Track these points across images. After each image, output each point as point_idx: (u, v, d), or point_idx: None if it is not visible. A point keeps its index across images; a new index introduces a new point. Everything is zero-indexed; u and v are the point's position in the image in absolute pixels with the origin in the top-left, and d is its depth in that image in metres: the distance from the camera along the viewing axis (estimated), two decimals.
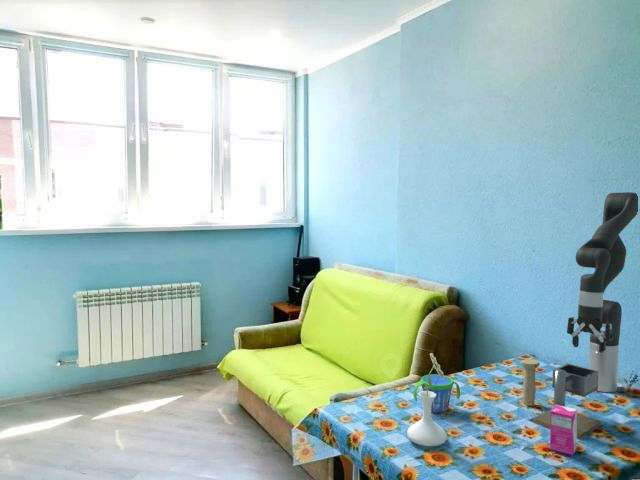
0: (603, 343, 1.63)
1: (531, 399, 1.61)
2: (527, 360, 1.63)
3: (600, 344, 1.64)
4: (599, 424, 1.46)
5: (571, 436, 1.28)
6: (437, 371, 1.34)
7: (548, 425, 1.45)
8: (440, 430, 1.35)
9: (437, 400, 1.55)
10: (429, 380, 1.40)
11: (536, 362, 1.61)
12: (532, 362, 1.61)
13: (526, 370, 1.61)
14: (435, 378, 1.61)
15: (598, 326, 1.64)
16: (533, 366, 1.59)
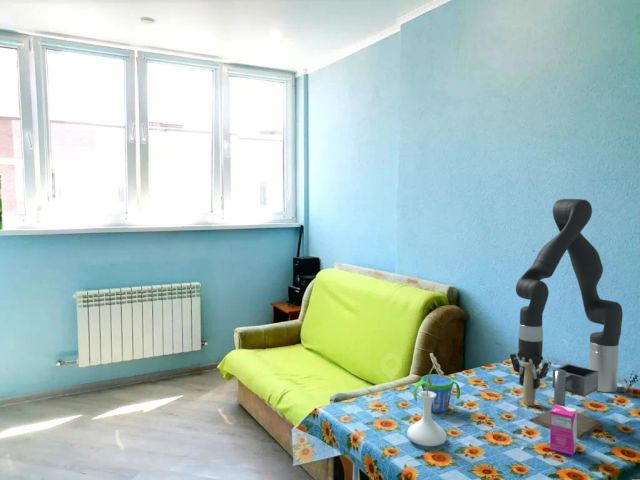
0: (537, 380, 1.59)
1: (531, 399, 1.61)
2: None
3: (534, 381, 1.60)
4: (599, 424, 1.46)
5: (571, 436, 1.28)
6: (437, 371, 1.34)
7: (548, 425, 1.45)
8: (440, 430, 1.35)
9: (437, 400, 1.55)
10: (429, 380, 1.40)
11: None
12: None
13: (526, 370, 1.61)
14: (435, 378, 1.61)
15: (537, 361, 1.58)
16: None
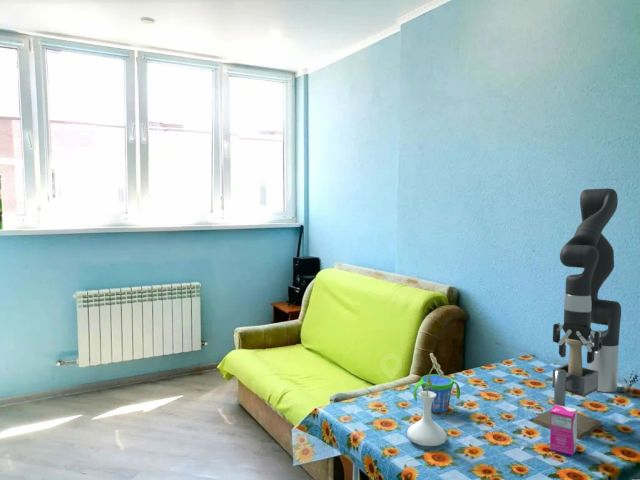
0: (591, 353, 1.45)
1: None
2: None
3: (588, 354, 1.45)
4: (599, 424, 1.46)
5: (571, 436, 1.28)
6: (437, 371, 1.34)
7: (548, 425, 1.45)
8: (440, 430, 1.35)
9: (437, 400, 1.55)
10: (429, 380, 1.40)
11: None
12: None
13: (572, 348, 1.49)
14: (435, 378, 1.61)
15: (586, 333, 1.46)
16: (580, 343, 1.47)
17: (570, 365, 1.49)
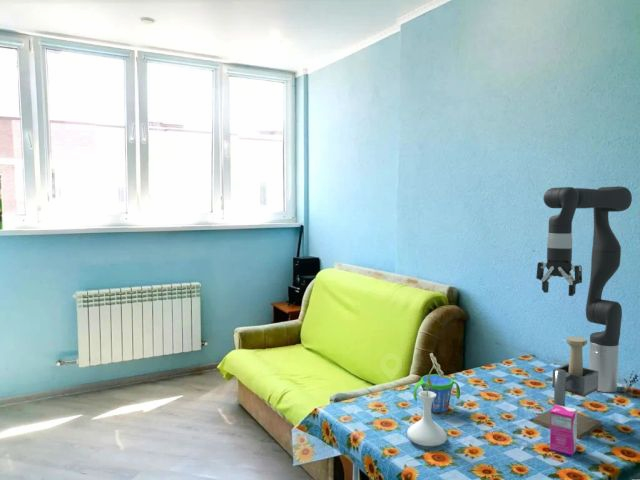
0: (572, 286, 1.56)
1: None
2: (573, 338, 1.50)
3: (569, 287, 1.57)
4: (599, 424, 1.46)
5: (571, 436, 1.28)
6: (437, 371, 1.34)
7: (548, 425, 1.45)
8: (440, 430, 1.35)
9: (437, 400, 1.55)
10: (429, 380, 1.40)
11: (584, 340, 1.48)
12: (579, 339, 1.49)
13: (573, 349, 1.48)
14: (435, 378, 1.61)
15: (567, 268, 1.57)
16: (581, 344, 1.47)
17: (570, 365, 1.49)
